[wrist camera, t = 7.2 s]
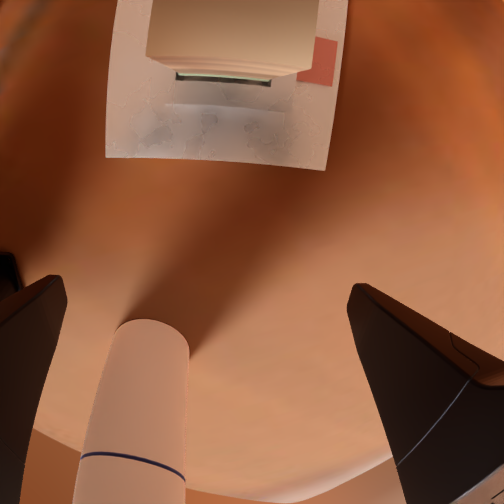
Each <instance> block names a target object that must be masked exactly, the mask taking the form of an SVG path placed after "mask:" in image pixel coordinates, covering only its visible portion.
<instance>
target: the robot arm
mask: <svg viewBox="0 0 504 504" xmlns="http://www.w3.org/2000/svg"><path fill="white" fill-rule="evenodd" d="M9 259H10V260H9ZM66 307H67V295H66V291H65V287H64V283H63V279H62V277H61V276H60V275H47V276H46V277H44V278H42V279H40V280H38V281H36V282H34V283H33V284H31V285H29V286H27V287H25V288H24V289H23V288H22V284H21V281H20V277H19V273H18V270H17V266H16V262H15V258H14V256H13V255H12V254H11V253H6V252H0V504H19V502H20V494H21V486H22V480H23V474H24V468H25V461H26V456H27V451H28V446H29V441H30V437H31V432H32V428H33V424H34V420H35V416H36V412H37V408H38V404H39V401H40V397H41V393H42V390H43V387H44V383H45V380H46V377H47V373H48V370H49V367H50V364H51V361H52V358H53V355H54V352H55V349H56V346H57V342H58V339H59V334H60V330H61V326H62V322H63V318H64V315H65V311H66ZM347 314H348V318H349V321H350V325H351V329H352V333H353V337H354V341H355V345H356V349H357V352H358V355H359V358H360V360H361V363H362V366H363V369H364V371H365V374H366V377H367V380H368V383H369V385H370V388H371V391H372V394H373V397H374V400H375V403H376V406H377V408H378V411H379V414H380V417H381V420H382V423H383V426H384V430H385V433H386V436H387V439H388V442H389V445H390V448H391V451H392V455H393V458H394V461H395V464H396V466H397V467H396V469H397V472H398V475H399V479H400V482H401V485H402V489H403V493H404V496H405V500H406V503H407V504H504V361H502V360H500V359H498V358H497V357H495V356H493V355H491V354H489V353H487V352H485V351H483V350H481V349H479V348H478V347H476V346H474V345H472V344H470V343H469V342H467V341H465V340H463V339H462V338H460V337H458V336H456V335H455V334H453V333H451V332H449V331H448V330H446V329H445V328H443V327H441V326H440V325H438V324H436V323H435V322H433V321H431V320H429V319H428V318H426V317H424V316H423V315H421V314H419V313H417V312H416V311H414V310H412V309H411V308H409V307H407V306H405V305H404V304H402V303H400V302H399V301H397V300H395V299H393V298H392V297H390V296H388V295H386V294H385V293H383V292H381V291H379V290H378V289H376V288H374V287H372V286H371V285H369V284H367V283H356V284H354V285H353V287H352V290H351V294H350V297H349V300H348V303H347Z"/></svg>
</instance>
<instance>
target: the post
mask: <svg viewBox="0 0 504 504" xmlns="http://www.w3.org/2000/svg"><path fill="white" fill-rule="evenodd" d="M318 7H319V0H153V3H152V9H151V16H150V22H149V30H148V37H147V46H146V54H145V56H147V57H149V58H151V59H153V60H155V61H157V62H159V63H161V64H163V65H164V66H166V67H168V68H170V69H172V70H174V71H176V72H178V75H183V76H209V77H224V78H237V79H247V80H257V81H265V82H268V81H270V79H273V78H277V77H281V76H285V75H288V74H292V73H296V72H300V71H304V70H309V69H311V67H312V59H313V51H314V43H315V34H316V25H317V17H318Z"/></svg>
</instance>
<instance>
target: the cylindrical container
mask: <svg viewBox="0 0 504 504" xmlns="http://www.w3.org/2000/svg"><path fill="white" fill-rule="evenodd" d="M189 353H190V351H189V346H188V343H187V341H186V340H185V338H184V337H183V336H182V335H181V334H180V333H179V332H178V331H177V330H176V329H174V328H173V327H171V326H169V325H167V324H165V323H162V322H159V321H156V320H150V319H136V320H131V321H128V322H126V323H124V324H122V325H121V326H120V327H119V328H118V329H117V330H116V332H115V334H114V336H113V339H112V342H111V346H110V349H109V352H108V355H107V358H106V362H105V365H104V369H103V372H102V375H101V379H100V383H99V386H98V390H97V393H96V397H95V400H94V404H93V408H92V412H91V416H90V420H89V423H88V428H87V432H86V436H85V440H84V444H83V449H82V453H81V461H80V464H79V468H78V473H77V479H76V484H75V490H74V496H73V503H72V504H185V447H186V413H187V389H188V370H189Z"/></svg>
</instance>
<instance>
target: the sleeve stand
mask: <svg viewBox="0 0 504 504" xmlns="http://www.w3.org/2000/svg"><path fill="white" fill-rule="evenodd" d="M152 3H153V0H118V3H117V8H116V15H115V21H114V28H113V36H112V44H111V53H110V62H109V74H108V87H107V106H106V158H173V159H197V160H215V161H230V162H244V163H256V164H267V165H277V166H287V167H296V168H305V169H313V170H321V171H325V168H326V163H327V157H328V151H329V145H330V139H331V133H332V126H333V120H334V113H335V106H336V100H337V93H338V85H339V78H340V70H341V62H342V54H343V46H344V37H345V27H346V18H347V7H348V0H319V7H318V17H317V25H316V34H315V43H314V51H313V59H312V67H311V69H309V70H304V71H300V72H296V73H292V74H288V75H285V76H281V77H277V78H273V79H270V81H268V82H265V81H257V80H247V79H237V78H224V77H209V76H183V75H178V72H176V71H174V70H172V69H170V68H168V67H166V66H164V65H163V64H161V63H159V62H157V61H155V60H153V59H151V58H149V57H147V56H145V54H146V46H147V37H148V30H149V22H150V16H151V9H152Z"/></svg>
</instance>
